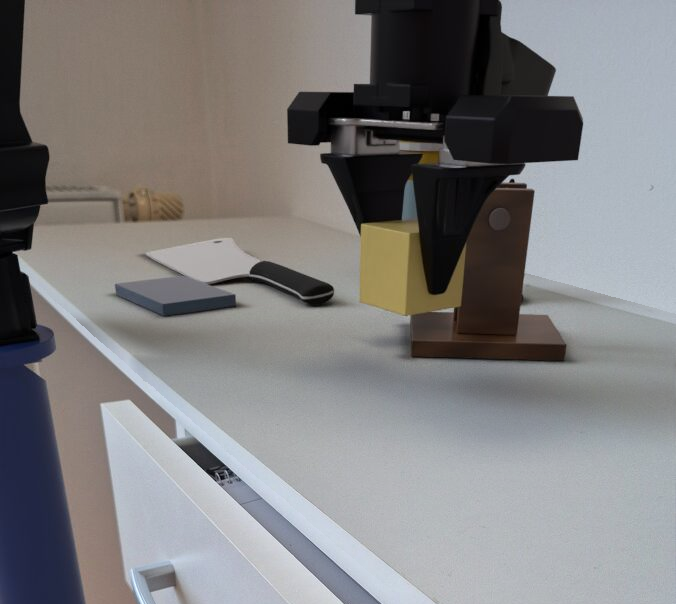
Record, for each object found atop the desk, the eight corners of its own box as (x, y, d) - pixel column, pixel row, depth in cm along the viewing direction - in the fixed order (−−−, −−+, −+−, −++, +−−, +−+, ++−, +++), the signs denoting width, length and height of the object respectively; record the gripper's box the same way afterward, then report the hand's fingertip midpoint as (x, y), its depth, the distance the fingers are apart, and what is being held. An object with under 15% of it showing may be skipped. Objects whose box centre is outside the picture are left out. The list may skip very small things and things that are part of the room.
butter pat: (405, 316, 48) (409, 233, 46) (358, 302, 51) (360, 223, 49) (461, 306, 51) (468, 227, 48) (413, 293, 54) (417, 218, 51)
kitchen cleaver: (143, 245, 93) (225, 229, 96) (146, 261, 94) (227, 245, 97) (245, 302, 70) (349, 278, 73) (248, 323, 71) (351, 298, 74)
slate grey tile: (164, 316, 69) (162, 304, 69) (115, 294, 76) (114, 283, 75) (236, 306, 73) (235, 294, 72) (184, 286, 79) (183, 275, 79)
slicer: (410, 356, 60) (420, 191, 54) (409, 326, 67) (418, 178, 61) (564, 361, 59) (590, 194, 53) (545, 329, 67) (566, 181, 61)
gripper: (681, -37, 40) (619, 299, 48) (426, -10, 53) (412, 252, 61) (521, -60, 34) (482, 325, 42) (279, -23, 47) (285, 268, 55)
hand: (410, 286), depth 50 cm, fingers closed on butter pat, 4 cm apart
